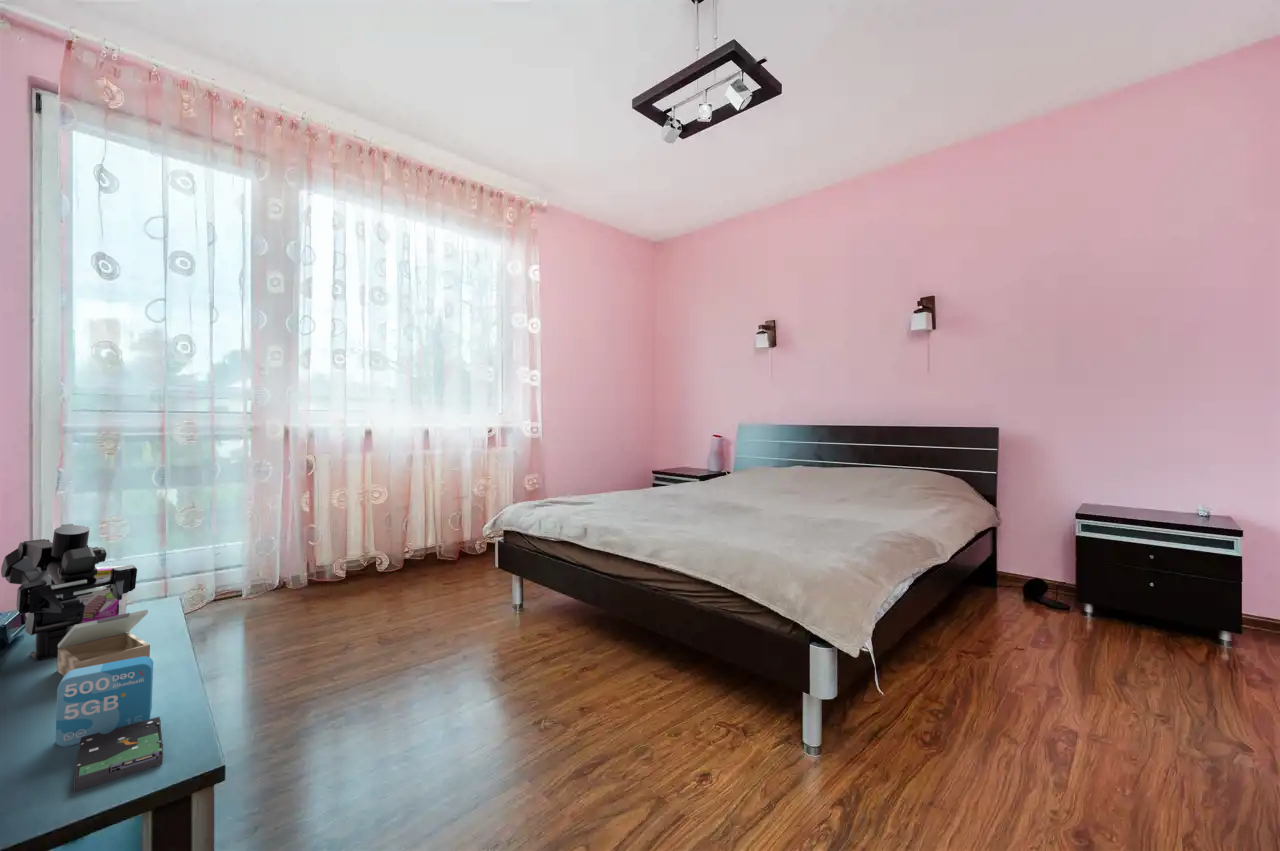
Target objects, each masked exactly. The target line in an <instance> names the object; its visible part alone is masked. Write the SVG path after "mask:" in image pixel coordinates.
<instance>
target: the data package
mask: <svg viewBox="0 0 1280 851" xmlns="http://www.w3.org/2000/svg"><path fill="white" fill-rule="evenodd" d="M153 675H154V660H153V659H152V657H146V656H142V657H137V658H132V659H126V660H121V661H116V662H110V663H105V664H100V665H94V666H89V667H84V668H78V669H74V670H71V671H69V672H68V673H66V674H65V675H64V676H62V679H61V680H60V682H59V684H58V686H57V688H56V689H57V690H56V714H55V716H56V717H55V743H56V745H58V746H59V747H71V746H75V745H80V741H81V738H82V737H84V736H88V735H92V734H96V733H101V734H107V733H110V732H111V731H113V730H114V729H116V728H118V727H122V726H126V725H130V724H134V723H138V722H142V721H145V720H149V719H151V714H152V708H153V684H154V683H153V680H154V679H153V677H154V676H153Z"/></svg>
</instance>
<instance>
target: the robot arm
mask: <svg viewBox="0 0 1280 851" xmlns="http://www.w3.org/2000/svg"><path fill="white" fill-rule="evenodd" d="M90 529H91V528H90V527H89V526H85V525H77V524H76V525H75V524H73V523H67V524H61V525H60V526H58V527H56V528H55V529H54V531H53V536H52V537H53V538H52V542H51V540H50V539H45V538H41V539H33V540H25V541H23V542H19V543H18V547H17V548H15V550H13V551H11V552H10V553H8V554H7V555H5V556H4V559H3V562H2V565H1V568H0V572H1V573H0V574H1V577H2V578H5V580H6V581H7V582H8V583H9V584H10V585H20V586H19V587H18V588H17V589H16V590H17V593H16V610H17V612H18V613H19V614H22V615H25V614H28V616H27V617H26V620H25V623H24V625H25V626H24V628H25V629H24V630H25V633H27V634H28V635H30V636H34V635H35V648H34V649H35V651H31V652H29V655H30V656H31V657H32V659H34V660H35V661H41V660H45V659H49V658H54V657H58V649H59V648H58V644H59V643H60V641H61V640H62V639H63V638H64V637H65V636H66V634H67V633H68V632H69V631H70V630H71V626H74V625H77V624H81V623H82V619H83V614H84V610H85V607H86V606H85V605H84V604H83V601H82V600H79V598H78V596H83V595H88V594H92V592H93V591H98V590H103V589H108V588H110V591H111V593H112V596H113V597H115V598H116V599H117V600H122V595H123V594H125V593H127V594H128V593H129V592H133V590H135V589H136V583H137V577H138V576H137V574H138V568H137V567H136V566H134V565H133V564H127V566H122V565H120V566H121V567H116V568H113V569H112V570H111V577H110V578H105V579H100V580H96V578H95V577H94V575H97V571H98V570H97V568H96V567H97V566H96V565H98V564H100V563H102V562H103V563H104V562H105V561H106V558H107V554H108V553H107V551H106V549H105V548H104V547H98V546H96V547H95V546H94V547H91V546H89V545H88V544H89V543H88V541H89V537H90Z"/></svg>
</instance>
